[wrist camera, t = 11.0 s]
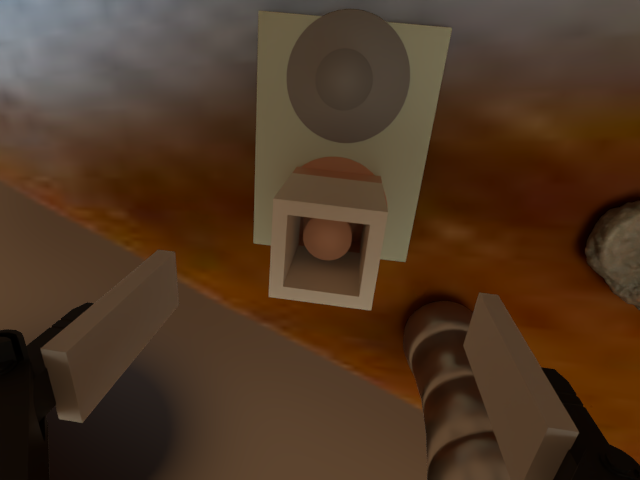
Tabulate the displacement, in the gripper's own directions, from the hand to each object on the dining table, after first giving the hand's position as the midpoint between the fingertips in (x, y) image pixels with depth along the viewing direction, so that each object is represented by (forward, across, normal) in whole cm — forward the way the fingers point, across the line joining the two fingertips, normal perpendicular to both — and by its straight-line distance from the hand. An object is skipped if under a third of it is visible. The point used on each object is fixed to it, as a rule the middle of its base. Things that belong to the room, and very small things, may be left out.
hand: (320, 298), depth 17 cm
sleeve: (+13, 0, 0) cm, 13 cm away
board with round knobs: (+14, 0, -4) cm, 15 cm away
